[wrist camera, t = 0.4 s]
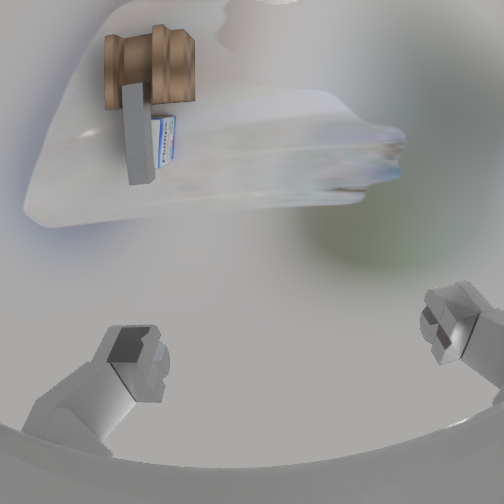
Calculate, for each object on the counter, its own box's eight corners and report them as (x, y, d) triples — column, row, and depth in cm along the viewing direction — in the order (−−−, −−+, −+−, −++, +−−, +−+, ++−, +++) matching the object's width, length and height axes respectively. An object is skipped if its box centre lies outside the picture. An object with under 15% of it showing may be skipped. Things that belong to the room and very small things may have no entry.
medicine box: (173, 159, 50) (159, 170, 42) (149, 158, 49) (132, 169, 42) (176, 115, 46) (162, 118, 38) (151, 115, 46) (133, 118, 38)
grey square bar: (130, 86, 35) (121, 85, 32) (150, 83, 35) (142, 82, 32) (136, 179, 41) (129, 185, 38) (155, 178, 41) (149, 183, 38)
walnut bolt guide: (128, 50, 40) (93, 39, 28) (194, 40, 40) (176, 22, 28) (129, 108, 45) (94, 112, 33) (195, 100, 45) (176, 100, 33)
